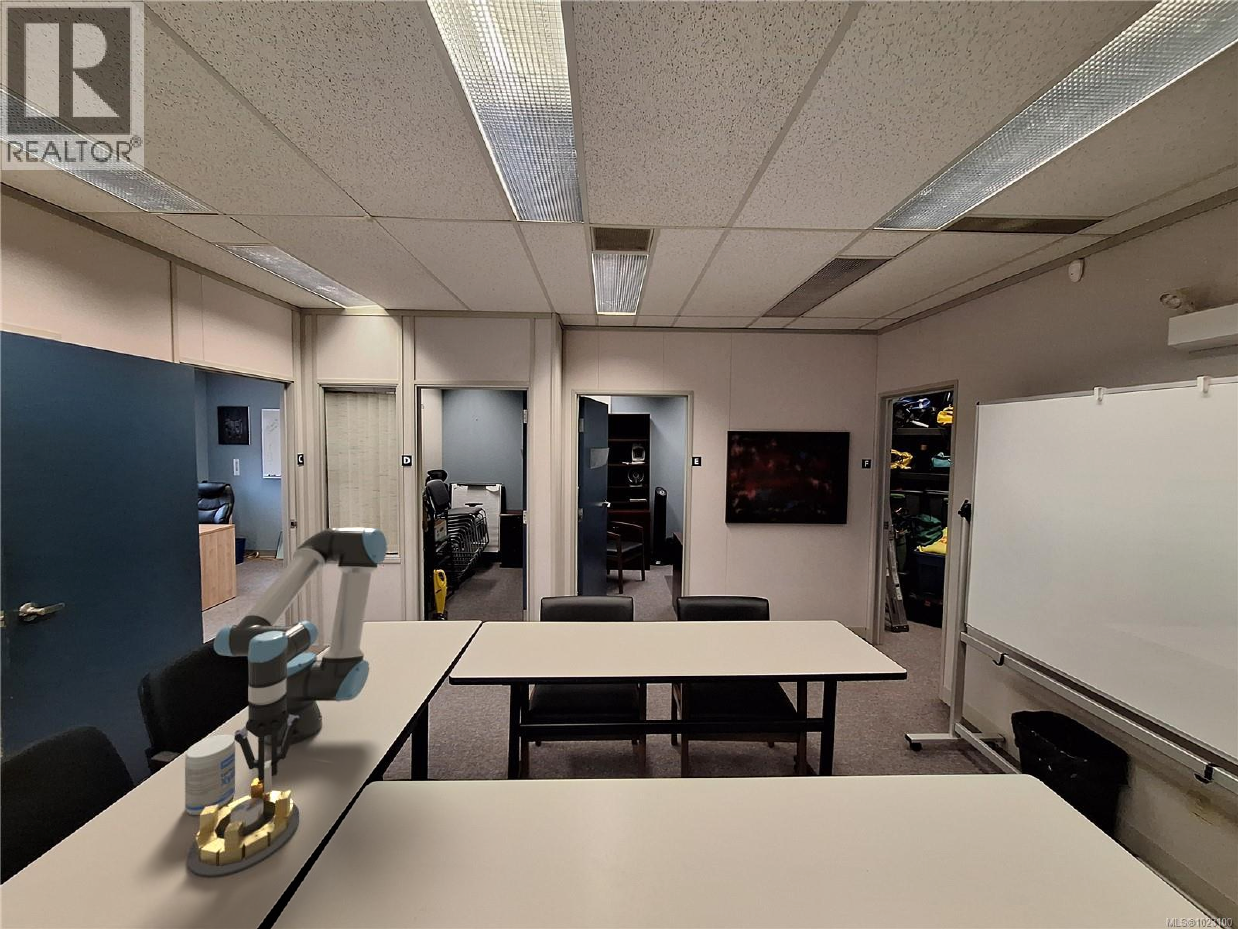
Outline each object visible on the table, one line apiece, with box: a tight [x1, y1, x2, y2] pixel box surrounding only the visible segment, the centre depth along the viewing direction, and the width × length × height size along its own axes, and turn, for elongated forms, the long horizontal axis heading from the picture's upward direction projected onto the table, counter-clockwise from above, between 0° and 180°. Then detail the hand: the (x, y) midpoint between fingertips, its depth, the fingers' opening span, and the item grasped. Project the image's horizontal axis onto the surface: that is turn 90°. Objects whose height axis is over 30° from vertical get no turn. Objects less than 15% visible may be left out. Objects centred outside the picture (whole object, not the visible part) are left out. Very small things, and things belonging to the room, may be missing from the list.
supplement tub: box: [184, 734, 236, 816], centre depth 115 cm, size 10×10×15 cm
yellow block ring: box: [195, 777, 294, 866], centre depth 106 cm, size 17×17×7 cm
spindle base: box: [187, 798, 300, 878], centre depth 106 cm, size 20×20×7 cm
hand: (267, 789), depth 113 cm, fingers closed
